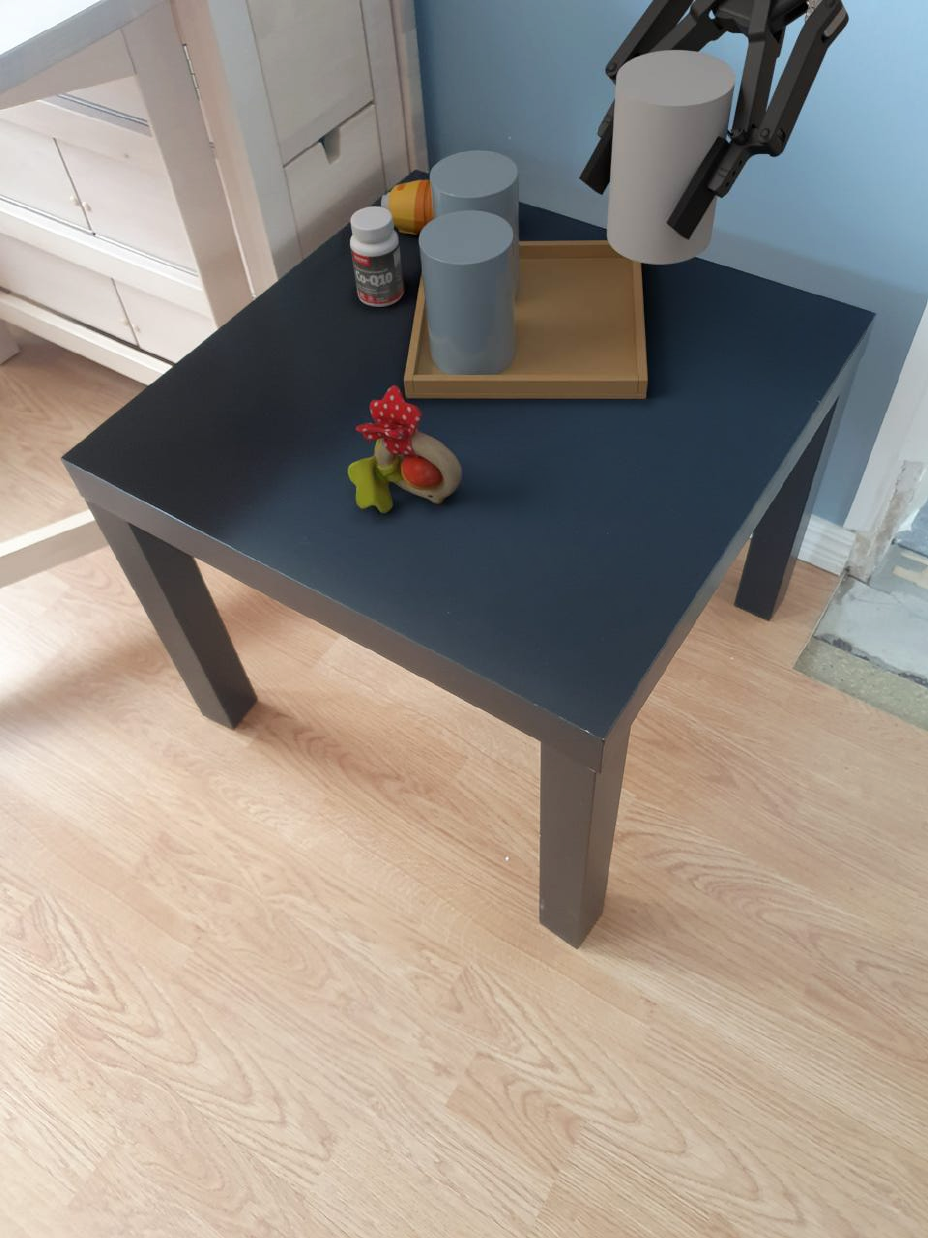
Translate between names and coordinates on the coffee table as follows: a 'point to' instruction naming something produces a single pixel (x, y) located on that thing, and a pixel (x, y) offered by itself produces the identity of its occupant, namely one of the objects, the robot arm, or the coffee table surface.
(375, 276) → the pill bottle
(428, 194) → the toy figure
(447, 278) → the slate blue cylinder
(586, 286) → the tray
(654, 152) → the light grey cylinder
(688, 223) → the robot arm
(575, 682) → the coffee table surface
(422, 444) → the bird rattle
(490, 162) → the grey-blue cylinder
